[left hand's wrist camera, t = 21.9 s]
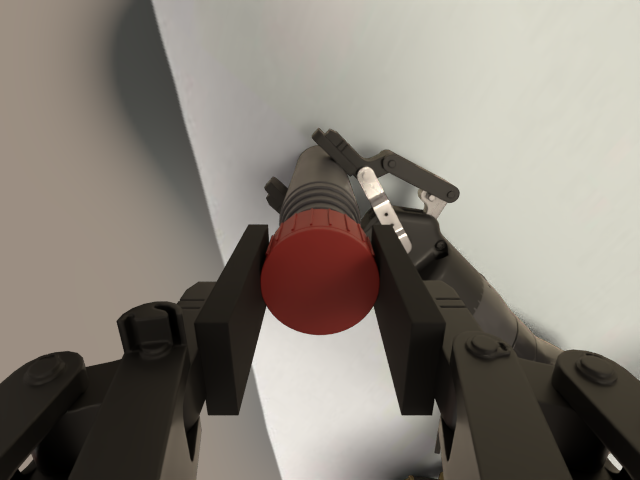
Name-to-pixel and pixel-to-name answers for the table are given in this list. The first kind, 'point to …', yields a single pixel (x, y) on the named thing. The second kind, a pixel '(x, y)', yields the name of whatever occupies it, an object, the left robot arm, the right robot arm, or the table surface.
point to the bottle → (319, 187)
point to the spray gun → (420, 479)
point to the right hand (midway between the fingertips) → (292, 159)
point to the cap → (320, 273)
